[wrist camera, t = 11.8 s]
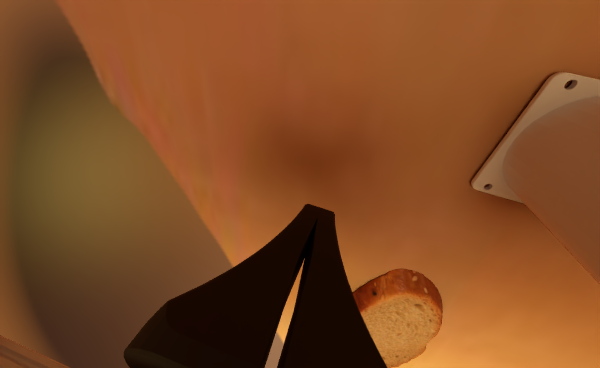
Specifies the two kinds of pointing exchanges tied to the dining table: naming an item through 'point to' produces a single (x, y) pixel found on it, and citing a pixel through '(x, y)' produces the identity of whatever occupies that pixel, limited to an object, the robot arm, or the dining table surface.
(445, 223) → the dining table surface
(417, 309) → the slice of bread
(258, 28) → the dining table surface
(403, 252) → the dining table surface
